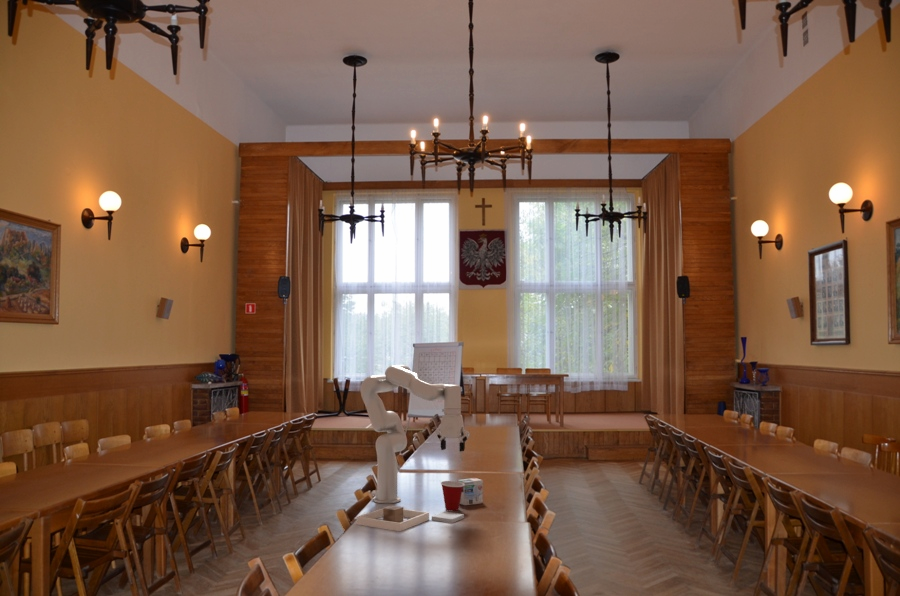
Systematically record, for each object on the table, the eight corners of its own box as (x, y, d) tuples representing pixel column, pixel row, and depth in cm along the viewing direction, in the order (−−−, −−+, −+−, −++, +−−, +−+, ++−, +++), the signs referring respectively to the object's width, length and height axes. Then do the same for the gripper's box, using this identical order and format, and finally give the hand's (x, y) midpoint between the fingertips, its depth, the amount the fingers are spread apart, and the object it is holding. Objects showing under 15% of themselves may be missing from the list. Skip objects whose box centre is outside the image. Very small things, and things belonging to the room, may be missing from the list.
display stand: (431, 520, 297) (431, 516, 297) (443, 515, 305) (443, 511, 305) (452, 522, 292) (452, 519, 292) (464, 517, 300) (464, 514, 300)
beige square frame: (356, 524, 290) (356, 516, 290) (387, 513, 308) (387, 506, 308) (400, 531, 279) (400, 523, 279) (429, 519, 297) (429, 512, 297)
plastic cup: (462, 513, 309) (461, 485, 310) (438, 511, 312) (438, 484, 313) (467, 507, 320) (466, 480, 321) (443, 506, 322) (443, 479, 323)
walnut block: (383, 523, 292) (383, 508, 293) (391, 520, 297) (391, 505, 298) (395, 524, 289) (395, 509, 290) (403, 521, 294) (403, 507, 295)
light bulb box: (464, 505, 324) (464, 482, 325) (456, 503, 330) (456, 479, 330) (483, 503, 329) (483, 479, 330) (475, 500, 335) (475, 477, 336)
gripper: (432, 411, 320) (432, 450, 319) (465, 413, 311) (465, 452, 310) (440, 410, 327) (440, 448, 325) (473, 412, 318) (473, 450, 317)
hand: (452, 450), depth 318 cm, fingers open, 9 cm apart
